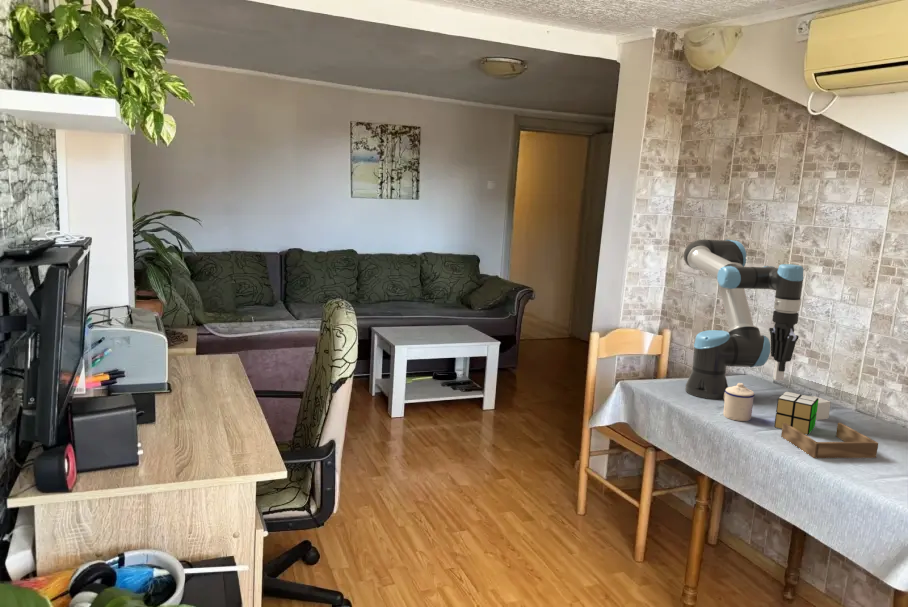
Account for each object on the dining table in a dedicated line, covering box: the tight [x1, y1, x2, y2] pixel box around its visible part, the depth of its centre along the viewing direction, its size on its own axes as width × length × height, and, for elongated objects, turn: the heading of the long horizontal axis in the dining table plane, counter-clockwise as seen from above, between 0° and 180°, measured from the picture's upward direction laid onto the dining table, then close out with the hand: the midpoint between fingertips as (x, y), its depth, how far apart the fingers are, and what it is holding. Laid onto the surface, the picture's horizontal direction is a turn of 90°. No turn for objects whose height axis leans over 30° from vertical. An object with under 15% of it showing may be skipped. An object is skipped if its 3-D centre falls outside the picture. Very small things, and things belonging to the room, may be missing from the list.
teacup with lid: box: [722, 382, 756, 422], centre depth 216 cm, size 12×9×12 cm
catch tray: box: [780, 422, 879, 459], centre depth 191 cm, size 16×19×4 cm
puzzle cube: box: [773, 391, 819, 436], centre depth 207 cm, size 10×10×10 cm
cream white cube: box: [812, 395, 831, 421], centre depth 218 cm, size 6×6×6 cm
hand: (778, 379), depth 217 cm, fingers closed
